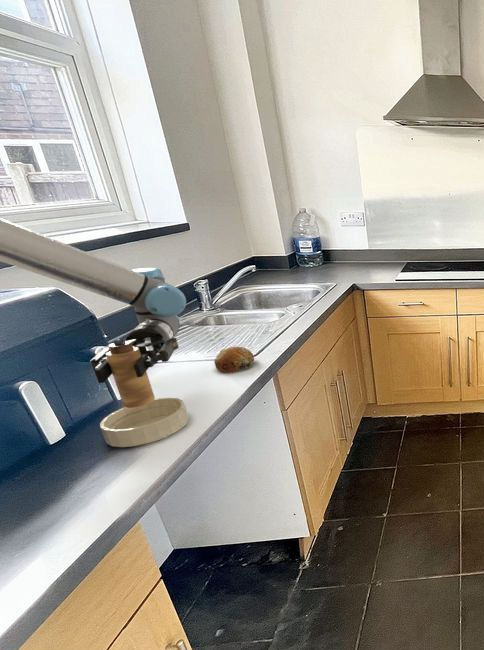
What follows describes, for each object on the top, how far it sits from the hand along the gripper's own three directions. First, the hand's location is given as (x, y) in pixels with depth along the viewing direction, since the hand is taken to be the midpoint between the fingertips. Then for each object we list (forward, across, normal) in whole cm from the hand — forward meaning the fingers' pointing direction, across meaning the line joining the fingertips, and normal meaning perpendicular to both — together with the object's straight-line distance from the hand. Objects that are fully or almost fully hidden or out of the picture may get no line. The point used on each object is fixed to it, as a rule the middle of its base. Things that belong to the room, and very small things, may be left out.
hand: (118, 373), depth 83 cm
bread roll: (-37, +14, +16) cm, 43 cm away
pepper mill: (-5, 0, +9) cm, 10 cm away
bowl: (-5, 0, +16) cm, 17 cm away
